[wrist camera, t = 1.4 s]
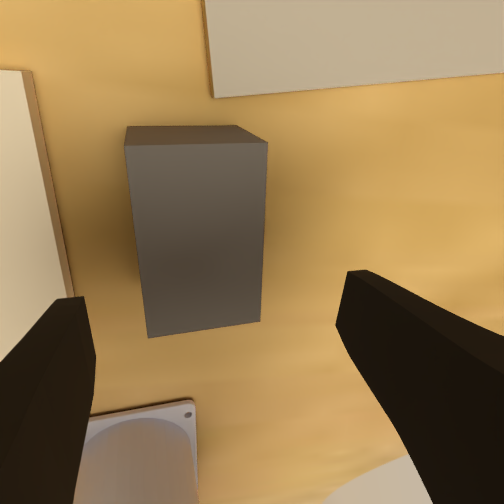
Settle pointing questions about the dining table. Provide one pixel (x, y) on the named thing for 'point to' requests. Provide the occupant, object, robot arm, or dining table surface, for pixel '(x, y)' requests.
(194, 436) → the robot arm
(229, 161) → the block
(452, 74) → the baseboard molding
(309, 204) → the dining table surface
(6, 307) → the board
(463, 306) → the dining table surface
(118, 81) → the dining table surface
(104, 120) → the dining table surface
